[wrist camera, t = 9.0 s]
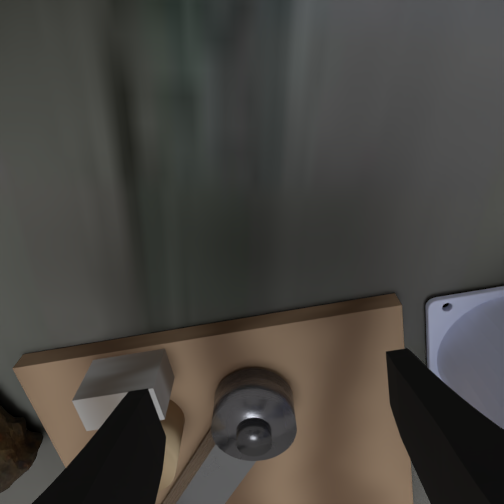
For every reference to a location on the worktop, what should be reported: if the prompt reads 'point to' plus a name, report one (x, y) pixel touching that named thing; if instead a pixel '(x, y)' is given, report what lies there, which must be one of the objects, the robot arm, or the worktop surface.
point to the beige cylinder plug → (171, 442)
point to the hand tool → (15, 448)
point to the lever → (238, 436)
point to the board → (245, 357)
